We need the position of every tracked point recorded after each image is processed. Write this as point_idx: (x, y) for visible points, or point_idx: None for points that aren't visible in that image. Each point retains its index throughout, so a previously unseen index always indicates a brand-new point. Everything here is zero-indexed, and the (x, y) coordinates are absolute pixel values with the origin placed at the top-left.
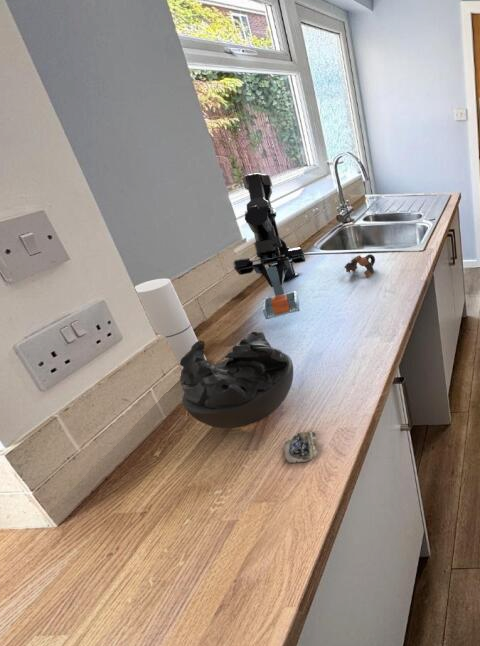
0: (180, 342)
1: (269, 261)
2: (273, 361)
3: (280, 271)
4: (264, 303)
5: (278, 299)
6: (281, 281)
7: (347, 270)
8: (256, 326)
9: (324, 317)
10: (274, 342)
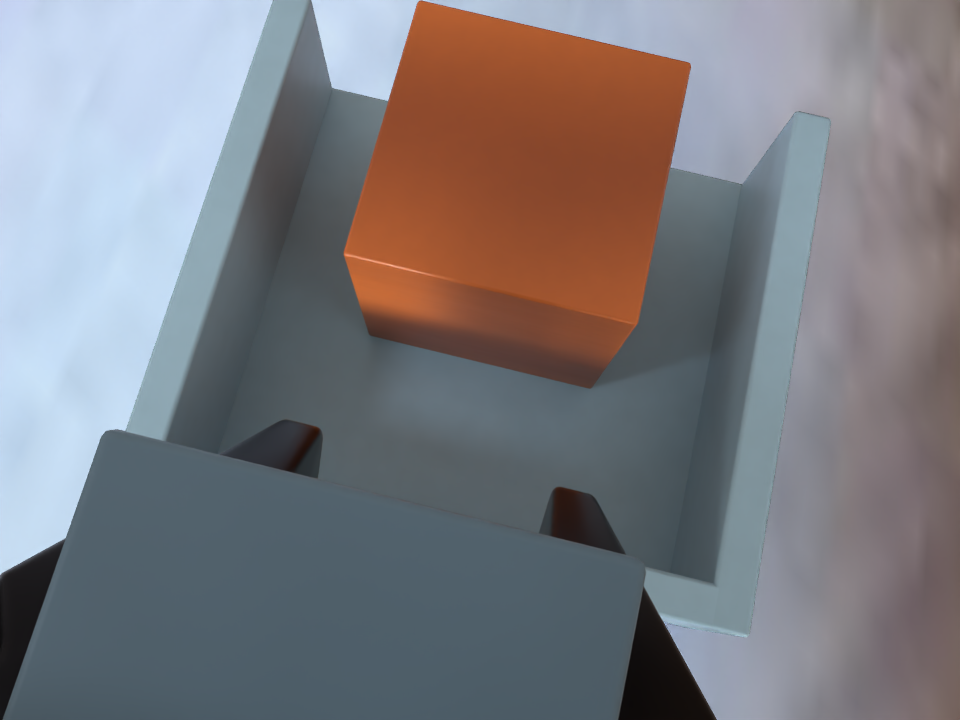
0: None
1: None
2: None
3: (25, 642)
4: (767, 359)
5: (539, 100)
6: (262, 438)
7: None
8: (817, 627)
9: (86, 196)
10: (698, 70)
